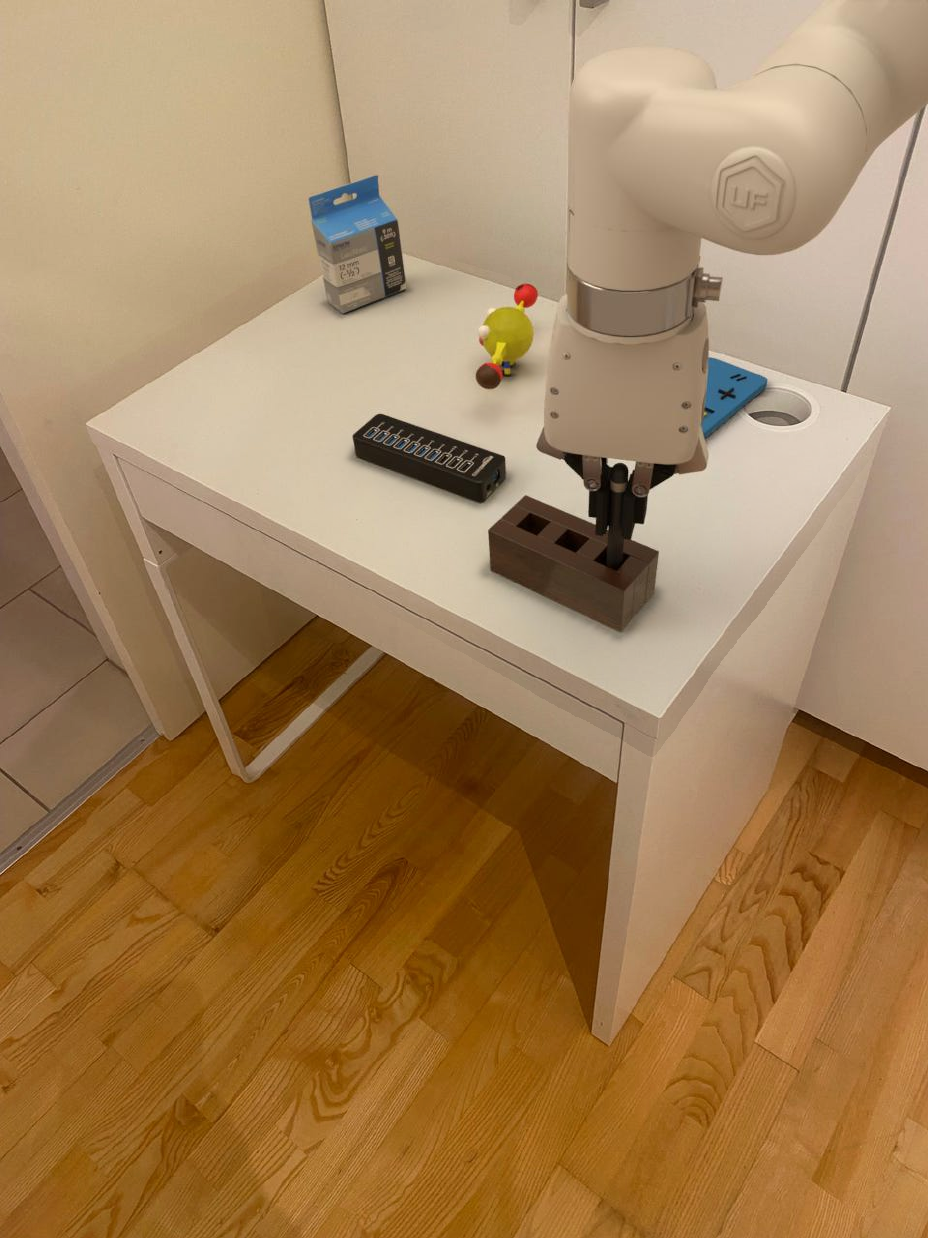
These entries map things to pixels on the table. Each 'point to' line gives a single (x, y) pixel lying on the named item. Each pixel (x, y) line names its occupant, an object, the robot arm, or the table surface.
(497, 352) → the toy figure
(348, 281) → the label tape box
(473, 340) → the table surface
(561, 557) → the pen stand
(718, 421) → the handheld gaming device
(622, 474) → the stylus
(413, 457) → the multiport hub
